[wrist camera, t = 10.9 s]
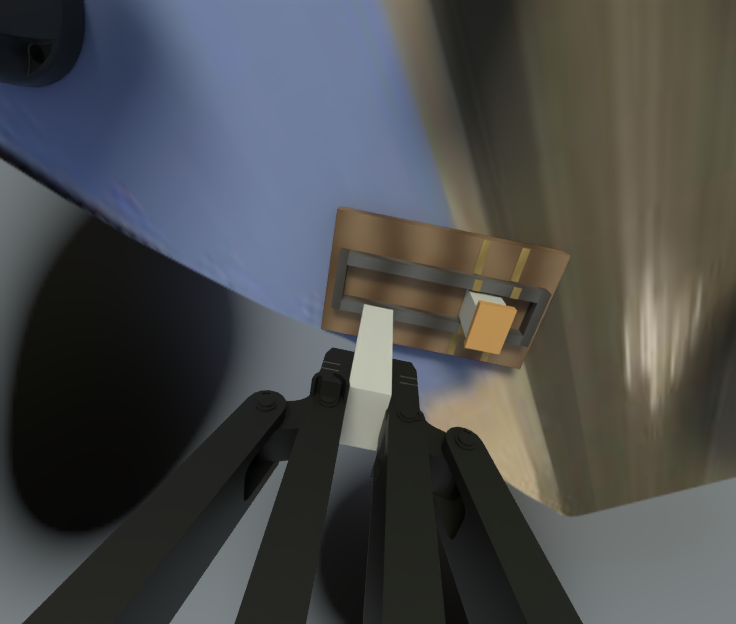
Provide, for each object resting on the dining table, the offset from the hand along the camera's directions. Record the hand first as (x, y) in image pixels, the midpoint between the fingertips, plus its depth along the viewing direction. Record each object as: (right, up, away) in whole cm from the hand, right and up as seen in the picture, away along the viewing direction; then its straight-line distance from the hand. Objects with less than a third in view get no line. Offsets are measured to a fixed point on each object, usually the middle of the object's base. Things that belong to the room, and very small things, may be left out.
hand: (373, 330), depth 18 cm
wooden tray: (+7, +4, +22) cm, 24 cm away
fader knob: (+12, +2, +20) cm, 23 cm away
